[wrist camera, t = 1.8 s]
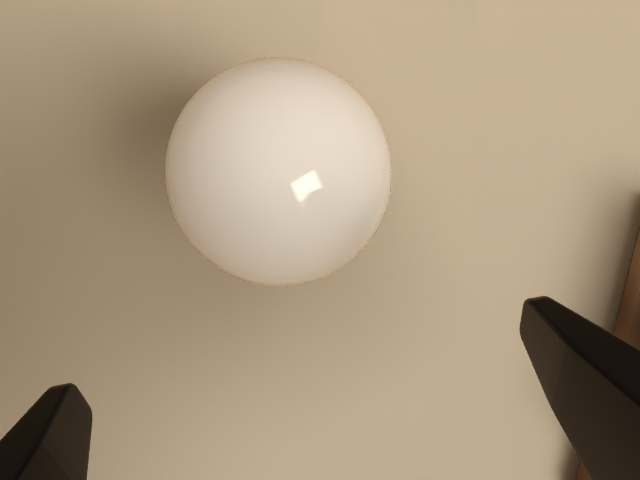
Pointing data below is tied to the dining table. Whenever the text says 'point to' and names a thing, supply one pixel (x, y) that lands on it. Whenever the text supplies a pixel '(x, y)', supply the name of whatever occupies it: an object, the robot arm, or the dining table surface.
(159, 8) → the dining table surface
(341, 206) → the lightbulb
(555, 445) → the dining table surface
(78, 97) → the dining table surface
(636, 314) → the socket block
